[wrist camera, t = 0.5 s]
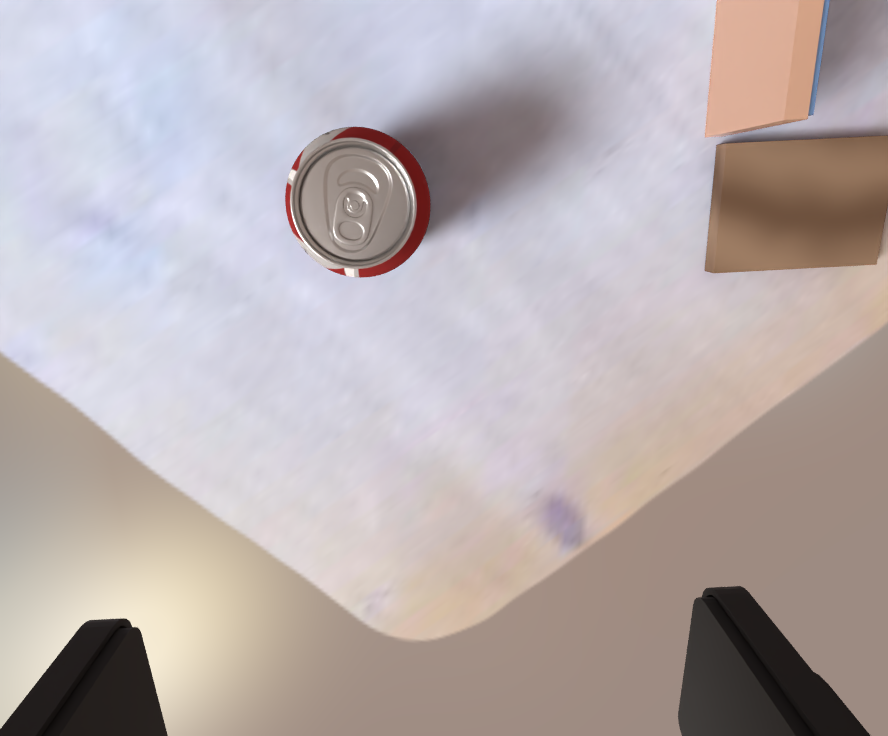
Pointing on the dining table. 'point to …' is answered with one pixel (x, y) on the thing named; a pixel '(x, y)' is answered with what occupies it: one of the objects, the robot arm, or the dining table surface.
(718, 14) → the tile
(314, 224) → the soda can
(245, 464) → the dining table surface
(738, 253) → the board
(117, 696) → the robot arm
